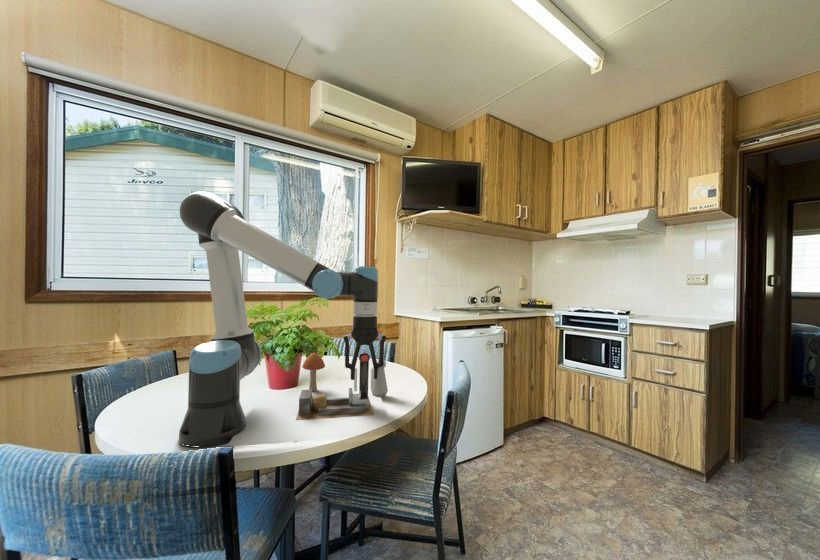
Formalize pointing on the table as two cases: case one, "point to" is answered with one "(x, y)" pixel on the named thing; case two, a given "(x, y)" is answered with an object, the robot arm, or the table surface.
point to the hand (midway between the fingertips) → (363, 389)
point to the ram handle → (361, 384)
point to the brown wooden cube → (319, 402)
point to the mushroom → (313, 368)
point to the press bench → (329, 408)
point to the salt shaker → (380, 382)
